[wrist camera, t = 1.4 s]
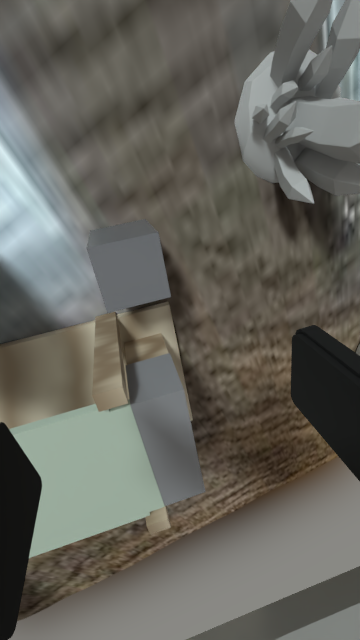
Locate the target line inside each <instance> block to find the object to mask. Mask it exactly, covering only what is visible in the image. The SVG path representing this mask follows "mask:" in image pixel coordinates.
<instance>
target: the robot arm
mask: <svg viewBox="0 0 360 640" xmlns="http://www.w3.org/2000/svg"><path fill="white" fill-rule="evenodd" d="M291 397H292V400H293V402H294V404H295V405H296V406H297V408H298V409H299V410H300V411H301V412H302V414H303V415H304V416H305V417H306V418H307V419H308V421H309V422H310V423H311V424H312V425H313V427H314V428H315V429H316V430H317V431H318V432H319V434H320V435H321V436H322V437H323V438H324V440H325V441H326V442H327V443H328V444H329V445H330V447H331V448H332V449H333V450H334V451H335V453H336V454H337V455H338V456H339V457H340V458H341V460H342V461H343V462H344V463H345V464H346V465H347V467H348V468H349V469H350V470H351V471H352V473H353V474H354V475H355V476H356V477H357V478H358V480H359V481H360V344H359V345H358V348H357V350H356V353H355V352H353V351H352V350H351V349H349V348H348V347H346V346H345V345H343V344H342V343H341V342H339V341H338V340H336V339H335V338H333V337H332V336H331V335H329V334H328V333H326V332H325V331H323V330H322V329H321V328H319V327H318V326H316V325H312V326H309V327H305V328H302V329H299V330H297V331H296V335H294V336H293V337H292V365H291ZM41 491H42V480H41V477H40V475H39V474H38V472H37V471H36V469H35V468H34V466H33V465H32V463H31V462H30V460H29V459H28V457H27V456H26V454H25V453H24V451H23V450H22V448H21V447H20V445H19V444H18V442H17V441H16V439H15V438H14V436H13V435H12V433H11V432H10V430H9V429H8V427H7V426H6V424H5V423H3V422H0V640H8V639H9V638H11V636H12V635H13V633H14V631H15V627H16V623H17V618H18V613H19V607H20V602H21V597H22V591H23V586H24V581H25V575H26V570H27V565H28V560H29V554H30V549H31V544H32V538H33V533H34V528H35V522H36V517H37V512H38V507H39V501H40V496H41ZM187 640H360V566H359V567H357V568H354V569H352V570H350V571H347V572H345V573H342V574H340V575H338V576H336V577H333V578H331V579H329V580H326V581H323V582H321V583H319V584H316V585H314V586H311V587H309V588H307V589H305V590H302V591H300V592H297V593H295V594H292V595H290V596H288V597H285V598H283V599H281V600H278V601H276V602H274V603H271V604H269V605H266V606H264V607H262V608H260V609H257V610H255V611H252V612H250V613H248V614H245V615H243V616H241V617H238V618H236V619H234V620H231V621H229V622H226V623H224V624H222V625H220V626H217V627H215V628H212V629H210V630H208V631H205V632H203V633H201V634H198V635H196V636H194V637H191V638H189V639H187Z"/></svg>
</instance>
